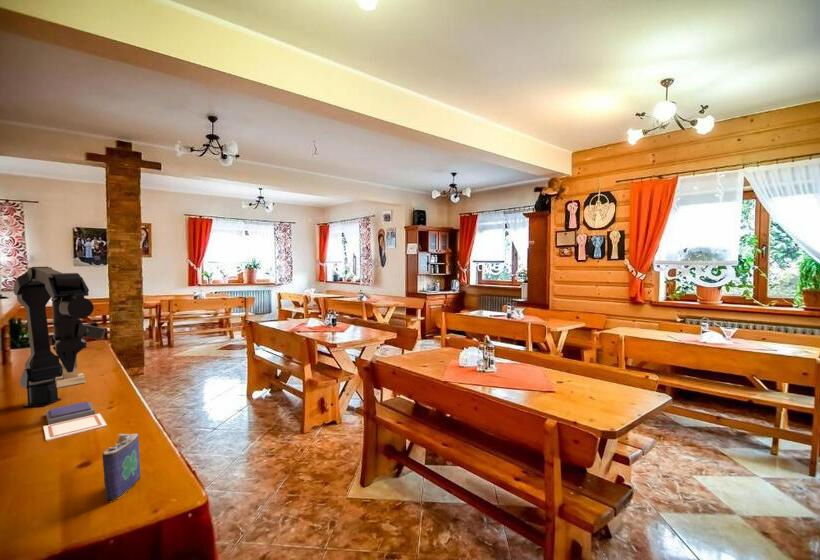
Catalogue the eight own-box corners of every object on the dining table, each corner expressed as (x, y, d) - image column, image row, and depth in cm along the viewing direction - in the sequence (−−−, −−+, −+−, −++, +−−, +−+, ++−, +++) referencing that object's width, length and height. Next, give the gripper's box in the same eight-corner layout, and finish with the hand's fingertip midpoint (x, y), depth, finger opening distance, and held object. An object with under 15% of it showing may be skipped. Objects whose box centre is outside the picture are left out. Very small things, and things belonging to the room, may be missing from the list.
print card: (43, 427, 104) (43, 425, 104) (99, 414, 113) (99, 413, 113) (46, 441, 96) (46, 439, 96) (106, 425, 104) (106, 424, 104)
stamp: (55, 384, 111) (54, 356, 110) (82, 379, 115) (81, 353, 115) (57, 388, 107) (55, 360, 106) (85, 383, 111) (84, 356, 111)
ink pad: (46, 415, 113) (45, 408, 113) (90, 405, 120) (89, 399, 120) (48, 424, 106) (47, 418, 106) (94, 414, 113) (94, 407, 113)
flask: (130, 475, 79) (128, 424, 79) (145, 474, 80) (143, 423, 79) (100, 503, 70) (98, 445, 70) (118, 502, 70) (116, 444, 70)
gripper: (107, 316, 109) (110, 370, 110) (97, 312, 122) (100, 360, 123) (54, 320, 101) (58, 379, 102) (49, 315, 114) (52, 368, 115)
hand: (69, 371), depth 111 cm, fingers closed on stamp, 3 cm apart
